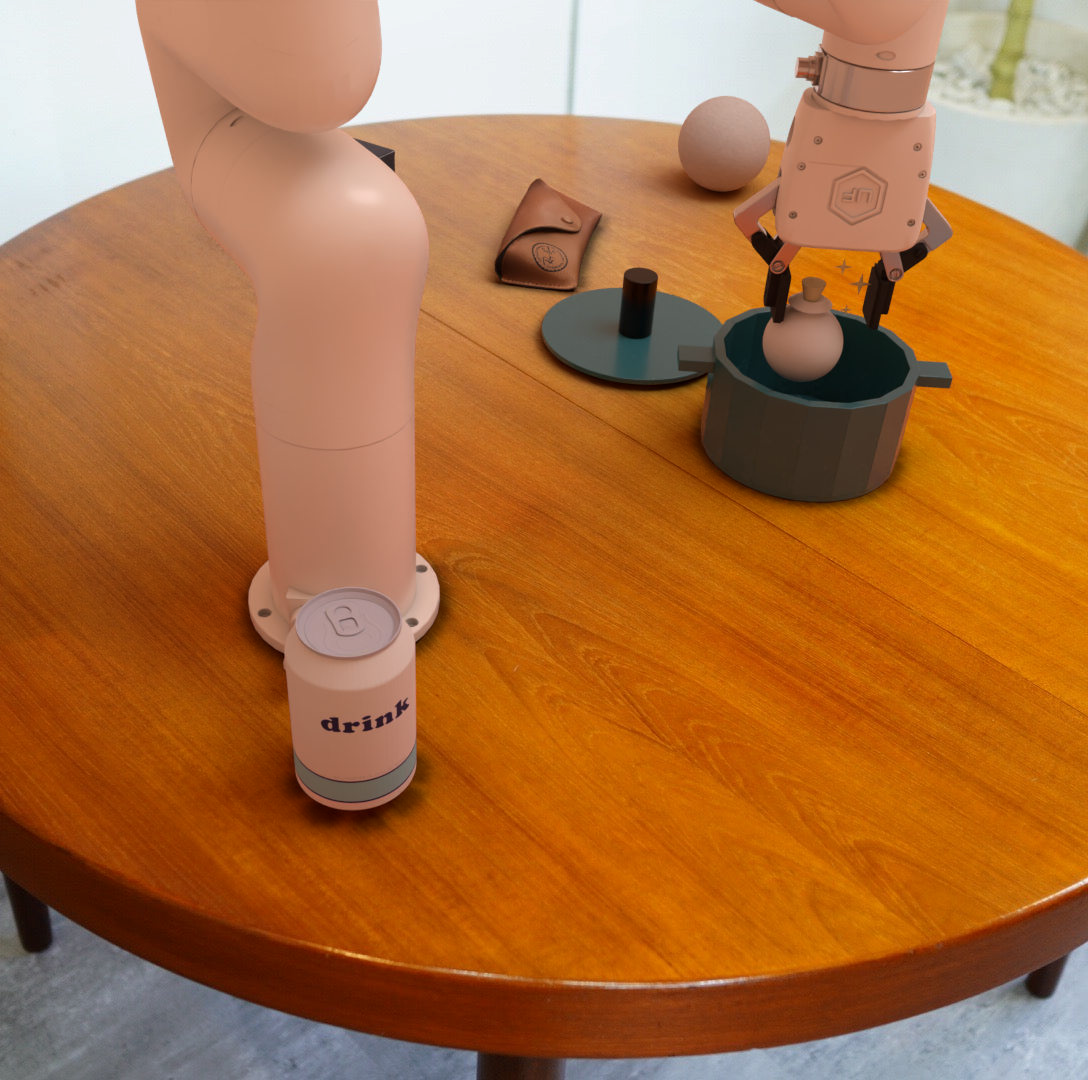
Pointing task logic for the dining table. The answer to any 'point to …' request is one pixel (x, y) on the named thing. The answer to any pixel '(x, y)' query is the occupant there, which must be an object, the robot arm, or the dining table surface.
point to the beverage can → (352, 698)
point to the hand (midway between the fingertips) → (823, 315)
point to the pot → (808, 410)
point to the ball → (724, 143)
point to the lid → (628, 331)
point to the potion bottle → (806, 334)
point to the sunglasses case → (546, 240)
